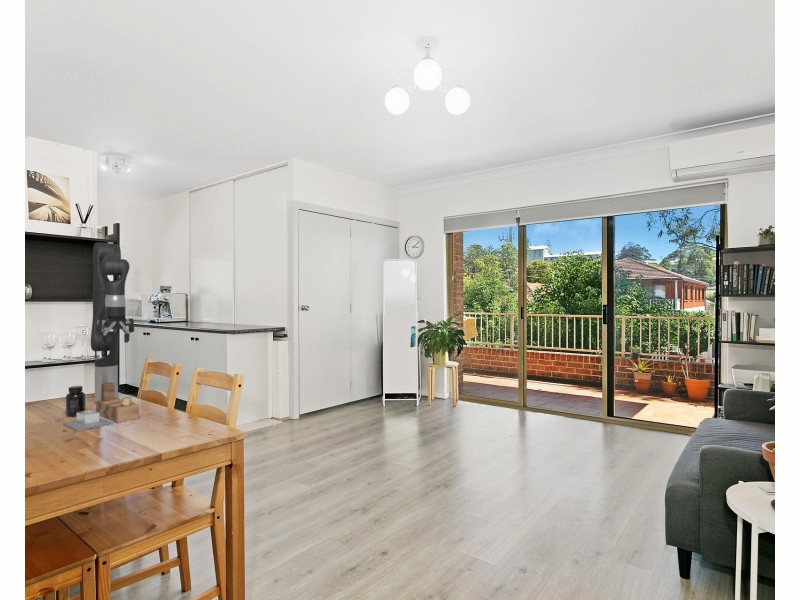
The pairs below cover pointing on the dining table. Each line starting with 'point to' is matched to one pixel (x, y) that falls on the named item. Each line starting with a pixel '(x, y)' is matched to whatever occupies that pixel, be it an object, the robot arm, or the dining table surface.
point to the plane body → (116, 405)
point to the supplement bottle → (75, 401)
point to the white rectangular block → (87, 417)
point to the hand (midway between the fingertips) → (115, 343)
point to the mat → (80, 427)
